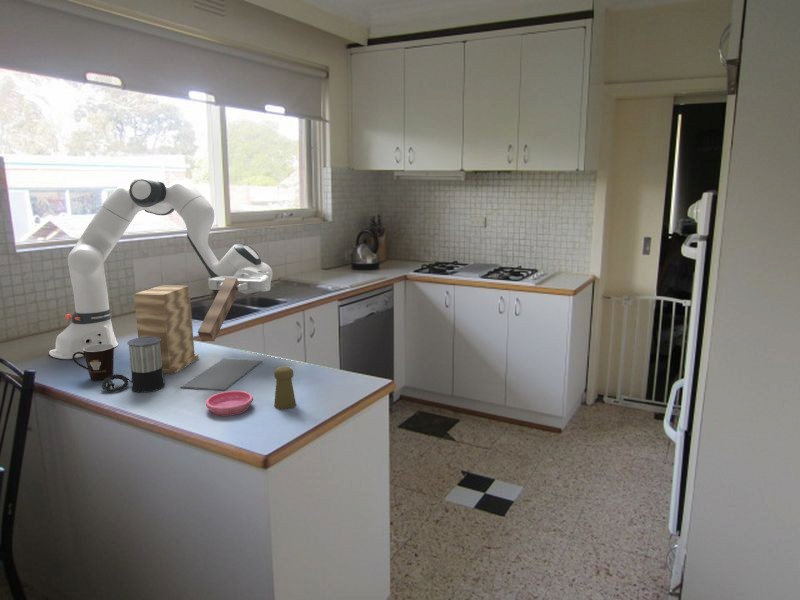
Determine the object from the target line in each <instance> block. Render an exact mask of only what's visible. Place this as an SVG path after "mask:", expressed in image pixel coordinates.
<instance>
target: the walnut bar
mask: <svg viewBox="0 0 800 600" xmlns="http://www.w3.org/2000/svg"><path fill="white" fill-rule="evenodd" d="M235 285H239V282H238V280H237V278H225V280H224V282H223V284H222V286H221V288H220V290H218V292H217V293H216V296H215V298H214V299H213V301H212V303H211V305H210V307H209V309H208V311H207V313H206V315H205V317H204V319H203V320H202V323H201V325H200V327H199V328H198V331H197V333H198V336H199V338H200V340H201V341H202V342H215V340H216V339H217V336H218V334H219V332H220V331H221V328H222V326H223V324H224V322H225V320H226V318H227V315H228V313H230V309H231V308H232V305H233V303H234V301H235V299H236V297H237V295H238V293H239V291H236V290H235Z"/></svg>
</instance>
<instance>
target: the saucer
mask: <svg viewBox="0 0 800 600" xmlns="http://www.w3.org/2000/svg"><path fill="white" fill-rule="evenodd" d="M253 400H254V396H253V394H252V393H250V392H248V391H245V390H244V391H243V390H228V391H227V390H225V391H221V392H218V393H215V394H212V395H211V396H209V397H208V398H207V399H206V401H205V407H206V408H207V409H208V410H209V411H211V412H212V413H213V414H214V415H217V416H225V417H226V416H233V415H234V416H235V415H238V414H241V413H244V412H246V410H247V409H248V408H249V406H251V405H252V403H253V402H254V401H253Z"/></svg>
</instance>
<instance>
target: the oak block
mask: <svg viewBox="0 0 800 600" xmlns="http://www.w3.org/2000/svg"><path fill="white" fill-rule="evenodd" d="M190 289H191V288H190V285H177V284H176V285H173V284H172V285H171V284H160V285H159V286H155V287H152V288H149V289H146V290H142V291H139V292H136V293H133V296H134V297H133V298H134V299H133V300H134V307H135V317H136V318H135V319H136V327H137V338H140V337H158V338H160V339H161V341H160V349H161V360H162V372H163V374H171V375H174V374H176V373H178V372H179V371H181V370H183V369H184V368H186V367H188V366H190V365H191V364H192V362H193V361H194V362H196V361H197V359H198V358H199V355H200V354H196V353H195V344H194V343H195V342H194V330H193V317H192V316H193V315H192V304H191V291H190ZM195 360H196V361H195ZM198 360H199V359H198ZM194 362H193V363H194ZM190 363H191V364H190ZM187 365H188V366H187ZM185 366H186V367H185ZM182 368H183V369H182Z"/></svg>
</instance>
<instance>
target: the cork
mask: <svg viewBox="0 0 800 600" xmlns="http://www.w3.org/2000/svg"><path fill="white" fill-rule="evenodd" d="M273 374H274V375H273V376H274V379H275V380H276V381H275V390H274V391H275V392H274V402H273V403H274V404H273V405H274V407H273V408H274V409H277V410H290V409H293V408H295V407H296V406H297V403H296V397H295V391H294V387H293V386H294V385H293V381H292V379H293V377H294V370H293V368H292V367H290V366H279V367H276V368H275V370H274V371H273Z"/></svg>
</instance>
